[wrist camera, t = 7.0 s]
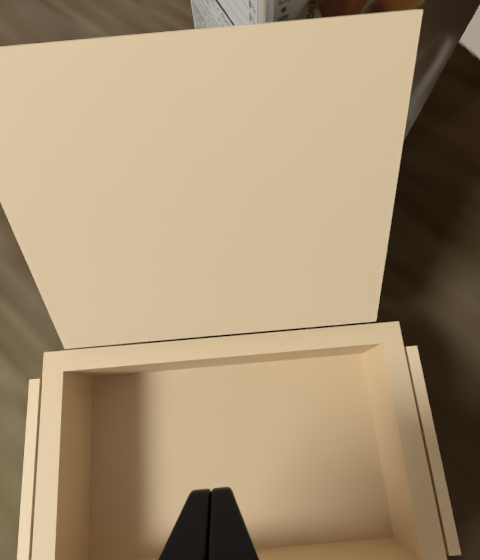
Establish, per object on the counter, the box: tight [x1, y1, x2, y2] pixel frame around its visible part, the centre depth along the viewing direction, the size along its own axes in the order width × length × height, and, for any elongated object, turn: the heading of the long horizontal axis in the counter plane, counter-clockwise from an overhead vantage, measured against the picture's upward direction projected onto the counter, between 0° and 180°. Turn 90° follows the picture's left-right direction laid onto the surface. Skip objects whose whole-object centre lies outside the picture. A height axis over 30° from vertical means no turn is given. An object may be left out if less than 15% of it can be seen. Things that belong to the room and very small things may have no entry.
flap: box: [0, 9, 423, 349], centre depth 13 cm, size 10×12×1 cm
